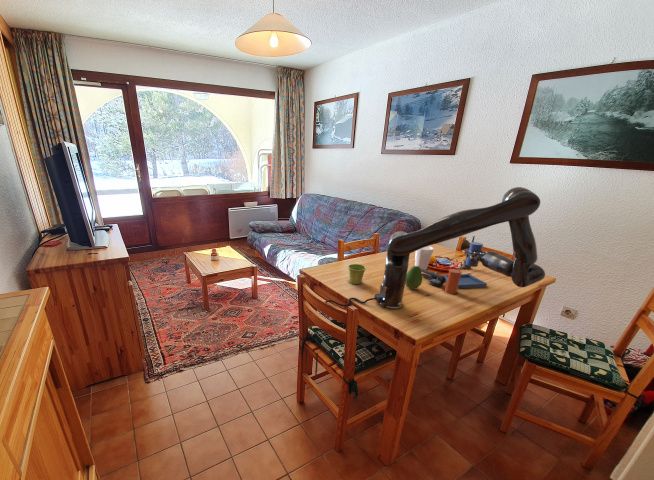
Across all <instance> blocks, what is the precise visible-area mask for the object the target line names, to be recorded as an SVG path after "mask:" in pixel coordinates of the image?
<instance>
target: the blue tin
mask: <svg viewBox="0 0 654 480" xmlns="http://www.w3.org/2000/svg"><path fill="white" fill-rule="evenodd" d="M470 243H471V244H470V248H468V250H469V251H472V252H479V253H481V251H483V247H484V243H481V242H478V241H477V242H476V241H474V242H472V241H471V242H470ZM473 255H474V254H473ZM476 257H477V255H476ZM479 262H480V261H478V260H475V259H474V260H473V261H471V260H470V259H468V258H467V260H466V265H467V266H471V268H475V267H476V268H477V267H478V266H479Z"/></svg>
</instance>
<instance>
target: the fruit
mask: <svg viewBox="0 0 654 480" xmlns="http://www.w3.org/2000/svg"><path fill="white" fill-rule="evenodd" d="M422 273H423V272H421V269H420V267H419V266H415V265H414V266H412V267H410V269H408V271H407V276H406V281H405V286H407V288H409V289H411V290H416V289H418V288H419V287H420V286H421V285H422V283H423V276H422Z"/></svg>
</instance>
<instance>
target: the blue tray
mask: <svg viewBox="0 0 654 480" xmlns="http://www.w3.org/2000/svg"><path fill="white" fill-rule="evenodd" d="M442 276H445V278H446V281H445V282H447V278H448V274H442ZM487 286H488V283H487V282H485V281H483V280H481V279H479V278H477V277H476V276H474V275H472V274H470V273H461V276H460V280H459V284H458V288H457V289H473V288H476V289H477V288H486V287H487Z"/></svg>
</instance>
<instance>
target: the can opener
mask: <svg viewBox="0 0 654 480" xmlns="http://www.w3.org/2000/svg"><path fill="white" fill-rule="evenodd" d="M421 273H422V278H425V279H427V280H429V281H428V282H429V283H428V284H430V285H432V286H435V287H438V286H442V285H444V284H446V282H447V281H446V278H445V276H443V275H442V274H439V273H438V272H435V271H431V270H427V269H426V270H423V269H422V270H421Z"/></svg>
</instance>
